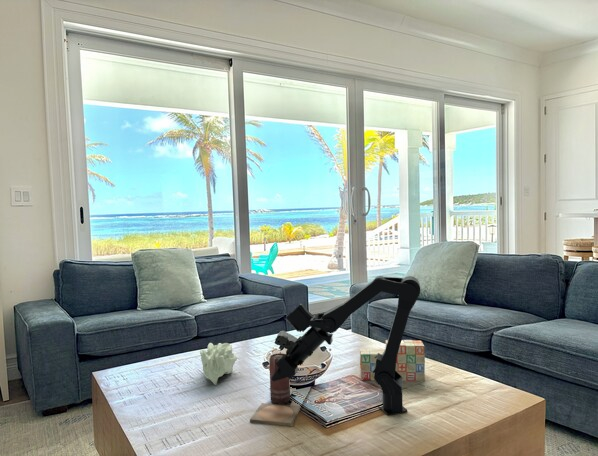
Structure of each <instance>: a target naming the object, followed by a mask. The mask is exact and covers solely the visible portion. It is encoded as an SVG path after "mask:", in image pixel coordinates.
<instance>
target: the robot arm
mask: <svg viewBox="0 0 598 456" xmlns="http://www.w3.org/2000/svg"><path fill="white" fill-rule="evenodd" d="M382 292H383V293H387V294H389V295H390V294H391V295H395V296H398V298H397V299H398V300H397V307H396V311H395V314H394V317H393V320H392V325H391V328H390V332H389V335H388V339H387V340H388V341H387V345H386V344H385V348H384V349H385V351H384V352H383V354H382V355H381V354H379V353H378V354H377V359H376V363H375V364H374V368H373V373H375V374H374V379H375V380H374V382H375V383H376V384H377V385H378V386H379V387H380V388H381V396H382V397H381V398H382V399H381V400H382V401H381V402H382V403H381V404H383V406H382V407H380V408H381V409H380V408H379V409H380V410H381V411H382V412H383V413H384V414H385V415H387V416H391V415H397V414H403V413H404V414H405V413H408V409H407V408H406V407H405V406H404V405H403V381H402V376H401V375H400V374H399V373H398V372H397V371H396V370H395V369H396V359H397V354H398V351H399V347H400V344H401V340H403V338H404V334H405V330H406V326H407V323H408V320H409V316H410V313H411V311H412V310H413V307H414V306H415V304H416V302H417V300H418V299H419V296H420V294H421V283H420V281H419V280H418V279H417V277H415V276H411V275H408V276H405V277H396V276H391V277H390V276H389V277H388V276H382V275H377V276H376V277H375V278H374V279H372V280H371V281H370V282H369V283H368V284H366V285H365V286H364V287H363V288H362V289H360V290H359V291H357V292H356V293H355V294H353V295H352V296H351V297H350V298H348V299H347V300H346V301H344V302H343V303H340V304H337V305H335V306H334V307H332V308H330V309H328V310H326V311H325V312H323V313H314V315H313V314H312V313H311V312H310V311H309V310H308V309H307V308H306V306H305V304H303V303H300V304H299V305H298V306H297V307H296V308H294V309H293V310H292V311H291V312H290V313H289V314H288V315H287V316H286V317H285V319H284V320H286V321H287V322H288V323H289V324H290V325H291V326H292V328H293V329H294V330H296V332H297V333H298V332H300V333H301V332H302V333H304V332H305V331H306V330H307V331H306V332H305V333H304V334H302V335H300V336H299V337H296V336H294V335H293V334H291V333H289V332H286V331H285V330H280V331H279V332H278V334H277V336H276V337H275V340H274V344H275V345H276V346H279V347H281V348H284V349H286V350H285V354H287V355H288V356H287V355H283V356H282V357H281V358H280V359H279V360H278V361H277V362H276V365H277V366H278V369H277V370H276V372H275V373H274V375H273V377H272V378H271V380H272V381H276V380H280V379H283V378H286V377H288V378H290V379H291V380H292V378H294V377H295V376H296V374H297V373H298V372H299V367H298V366H302V365H303V364H304V362H305V361H306V360H307V359H308V358H309V357H311V356H312V355H313V353H314V352H316V350H317V349H318V348H320V346H321V345H322V344H323V343H324V342H326V344H328V345H329V346H330V345H332V343H333V335H334V333H335V332H336V331H338V329H339V328H341V326H342V325H343V324H344V323H345V322H346V321H347V319H348V318H349V317H350V316H351V315H352V314H354V313H355V312H356V311H357V310H359V309H360V308H361V307H362V306H364V305H365V304H366V303H368V302H369V301H370V300H372V299H373V298H375V297H376V296H377V295H379V294H380V293H382ZM309 327H310V328H309Z"/></svg>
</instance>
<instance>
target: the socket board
mask: <svg viewBox="0 0 598 456" xmlns="http://www.w3.org/2000/svg"><path fill="white" fill-rule="evenodd" d="M292 390H296V388H292V387H290V391H292ZM300 408H301V409H302V407H301V406H300V405H299V404H297V403H295V402H294V401H293V400H292V401H291V403H290V404H275V403H266V402H265V403H264V402H262V403H261V404H259V406H258V408H257V409H256V410H255V412H254V413H253V414H252V416H251V417H250V418H249V423H254V424H255V423H256V424H266V425H267V424H268V425H275V426H276V425H278V426H287V427H288V426H289V427H291V426H293V424H294V422H295V420H296V418H297V416H298V414H299V412H300V411H301V409H300Z"/></svg>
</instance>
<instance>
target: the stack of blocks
mask: <svg viewBox="0 0 598 456" xmlns="http://www.w3.org/2000/svg"><path fill="white" fill-rule="evenodd" d="M387 341H388V339H386V340H385V346H386V345H387ZM384 351H385V348H359V369H360V380H361V379H363V380H362V381H375V379H374V374H375V373H373V368H374V364H375V363H376V359H377V354H378V353H379V354H381V355H382V354H383V352H384ZM425 356H426V355H425V345H424V343H423V341H422V340H413V339H402V340H401V344H400V347H399V351H398V354H397V359H396V369H395V370H396V371H397V372H398V373H399V374H400V375H401V376H402V382H403V381H407V382H425V381H426V379H425V378H426V377H425V375H426V373H425V367H426V366H425V364H426V357H425Z"/></svg>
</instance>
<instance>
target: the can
mask: <svg viewBox="0 0 598 456" xmlns="http://www.w3.org/2000/svg"><path fill="white" fill-rule="evenodd" d="M283 355H287V354H286V353H280V352H279V353H273V354H271V355H270V357H269V360H268V361H269V363H268V364H269V386H270V387H269V391H270V393H269V394H270V401H271V402H272V404H280V405H286V404H287V403H289V401H290V400H291V395H290V378H288V377H286V378H283V379H280V380H276V381H272V380H271V378H272V377H273V375H274V373H275V372H276V370H277V369H278V366H277V365H276V362H277V361H278V360H279V359H280V358H281V357H282V356H283ZM287 356H288V355H287Z"/></svg>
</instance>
